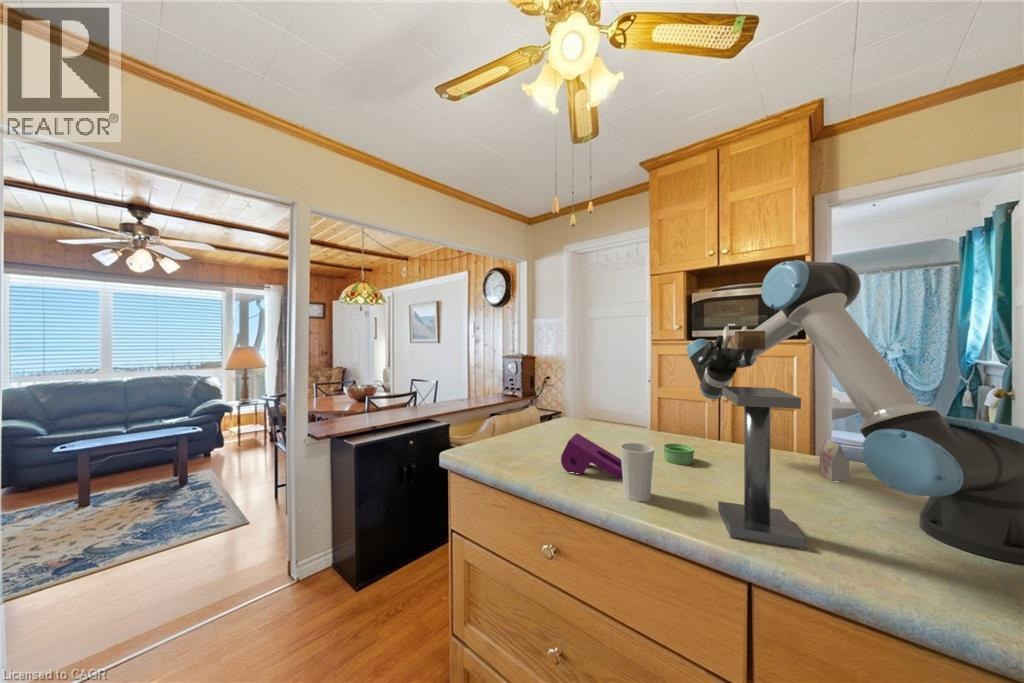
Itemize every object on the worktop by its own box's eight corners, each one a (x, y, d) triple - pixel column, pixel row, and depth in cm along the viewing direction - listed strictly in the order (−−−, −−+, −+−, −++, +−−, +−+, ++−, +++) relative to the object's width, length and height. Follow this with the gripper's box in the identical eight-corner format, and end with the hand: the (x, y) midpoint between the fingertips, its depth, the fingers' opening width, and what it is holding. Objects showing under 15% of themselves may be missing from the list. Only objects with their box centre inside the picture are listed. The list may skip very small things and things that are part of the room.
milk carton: (835, 474, 103) (835, 439, 103) (848, 483, 97) (849, 446, 97) (819, 473, 104) (819, 438, 104) (831, 481, 98) (832, 444, 98)
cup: (619, 500, 87) (619, 450, 87) (621, 487, 95) (621, 441, 95) (654, 505, 84) (654, 454, 84) (653, 491, 92) (653, 444, 92)
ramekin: (692, 468, 109) (692, 453, 109) (660, 462, 114) (660, 448, 114) (696, 459, 116) (696, 445, 116) (666, 454, 121) (666, 441, 121)
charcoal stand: (807, 552, 66) (807, 398, 65) (731, 540, 70) (731, 395, 69) (778, 515, 79) (778, 387, 79) (716, 507, 83) (716, 385, 83)
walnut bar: (765, 350, 77) (765, 330, 77) (738, 349, 79) (738, 331, 79) (739, 347, 98) (739, 332, 98) (718, 347, 99) (718, 332, 99)
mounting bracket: (618, 488, 108) (565, 455, 115) (631, 465, 107) (576, 432, 113) (613, 501, 100) (556, 464, 106) (627, 476, 98) (568, 440, 105)
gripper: (753, 383, 105) (777, 344, 86) (690, 381, 110) (701, 344, 91) (749, 360, 108) (772, 317, 89) (689, 359, 114) (698, 319, 95)
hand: (736, 331), depth 90 cm, fingers closed on walnut bar, 3 cm apart
